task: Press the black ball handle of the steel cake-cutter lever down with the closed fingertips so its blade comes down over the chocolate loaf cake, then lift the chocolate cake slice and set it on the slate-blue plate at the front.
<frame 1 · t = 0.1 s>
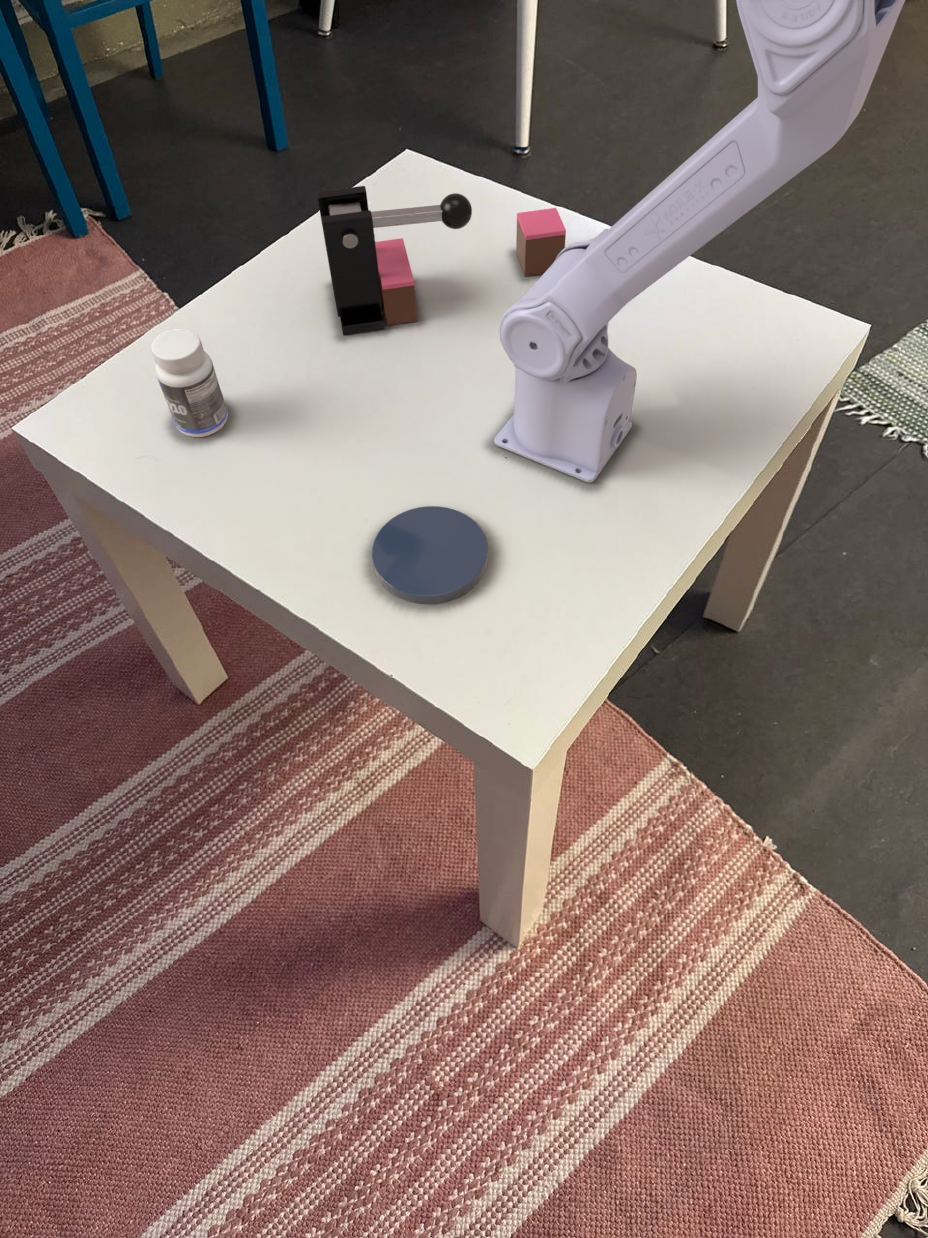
cutter: (401, 216, 83), point 9 cm above the table, hinge at -2.0°
cake slice: (539, 262, 93), on the table
loaf cake: (396, 301, 90), on the table
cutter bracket: (358, 306, 90), on the table
pill bottle: (202, 421, 82), on the table
plate: (430, 557, 72), on the table
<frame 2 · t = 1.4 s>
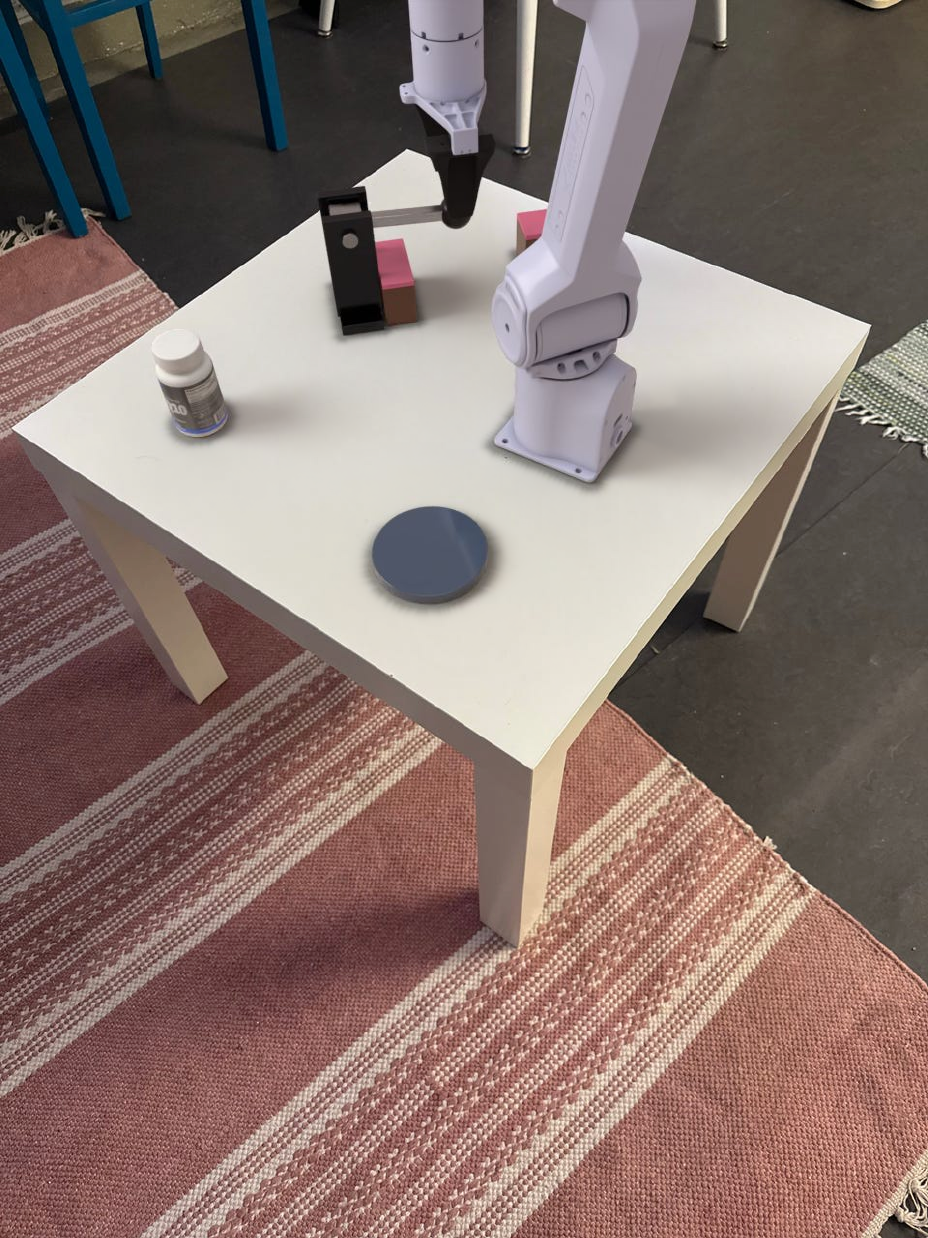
hand: (453, 191, 82), 11 cm above the table, tool pointing down, fingers open, 7 cm apart
nothing on the table moved.
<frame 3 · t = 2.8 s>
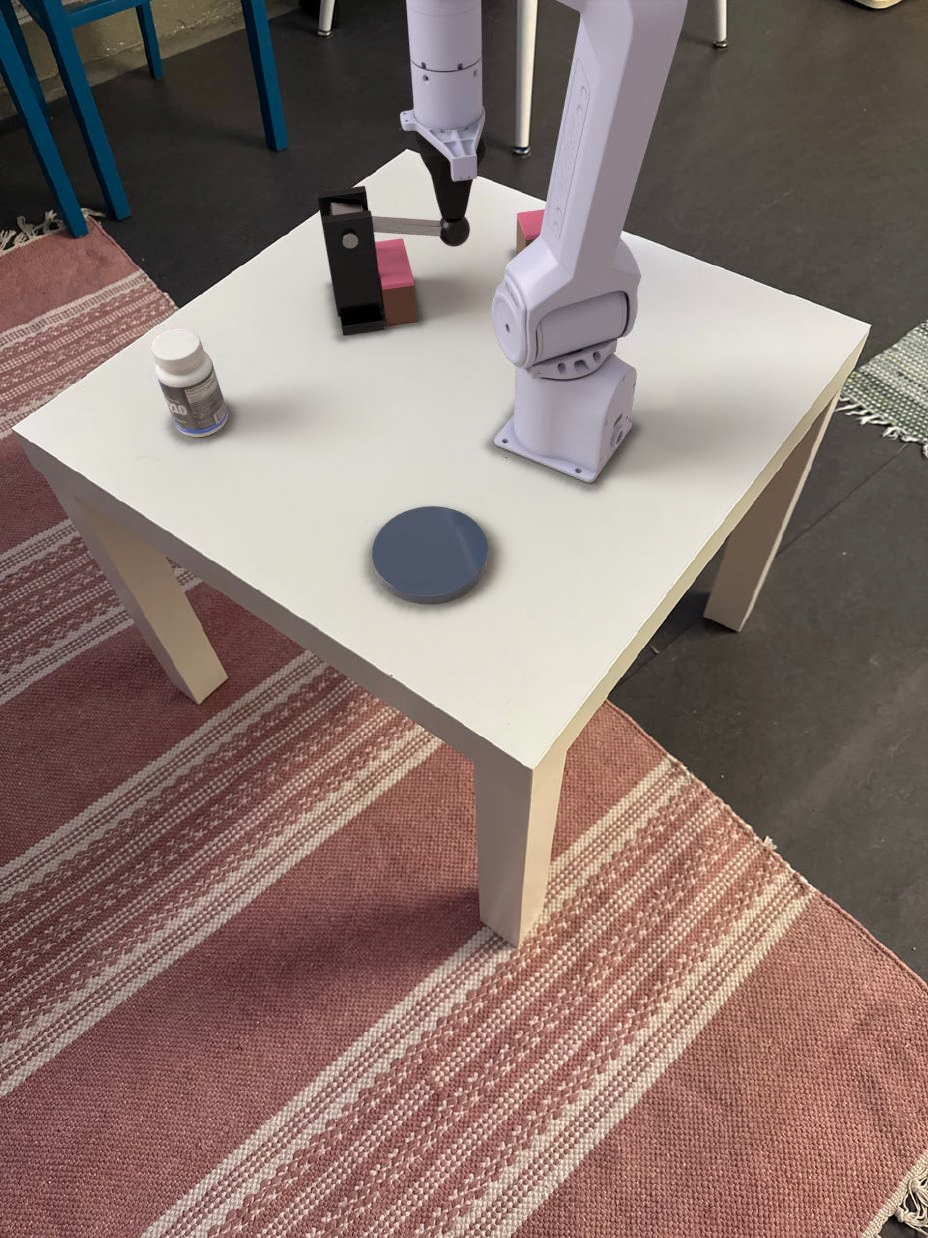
hand: (452, 214, 84), 8 cm above the table, tool pointing down, fingers closed, pressing on cutter
cutter: (401, 225, 84), point 8 cm above the table, hinge at -12.2°, touching gripper
everything else where it was.
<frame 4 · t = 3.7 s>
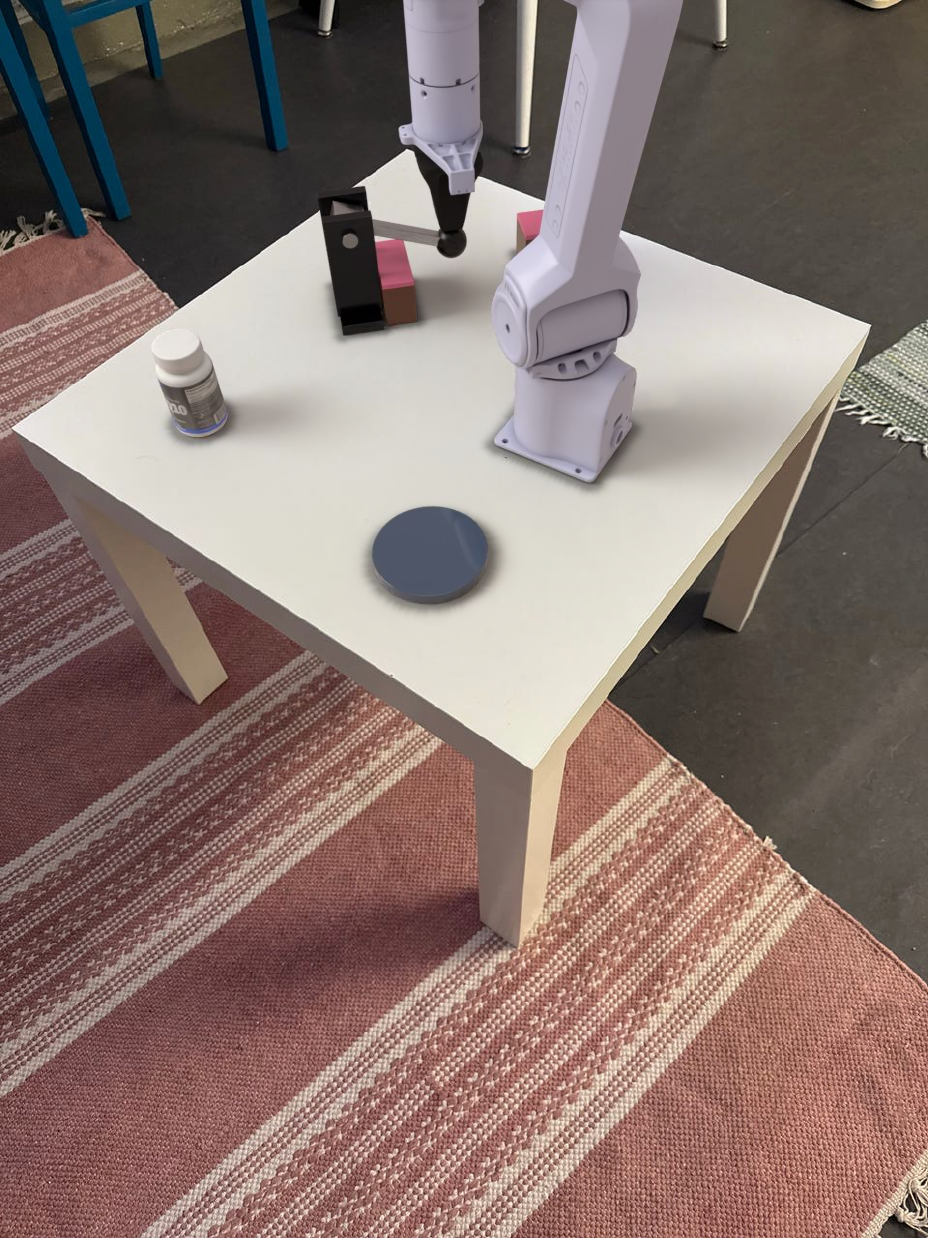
hand: (450, 226, 85), 7 cm above the table, tool pointing down, fingers closed
cutter: (400, 231, 84), point 7 cm above the table, hinge at -19.0°
everything else where it was.
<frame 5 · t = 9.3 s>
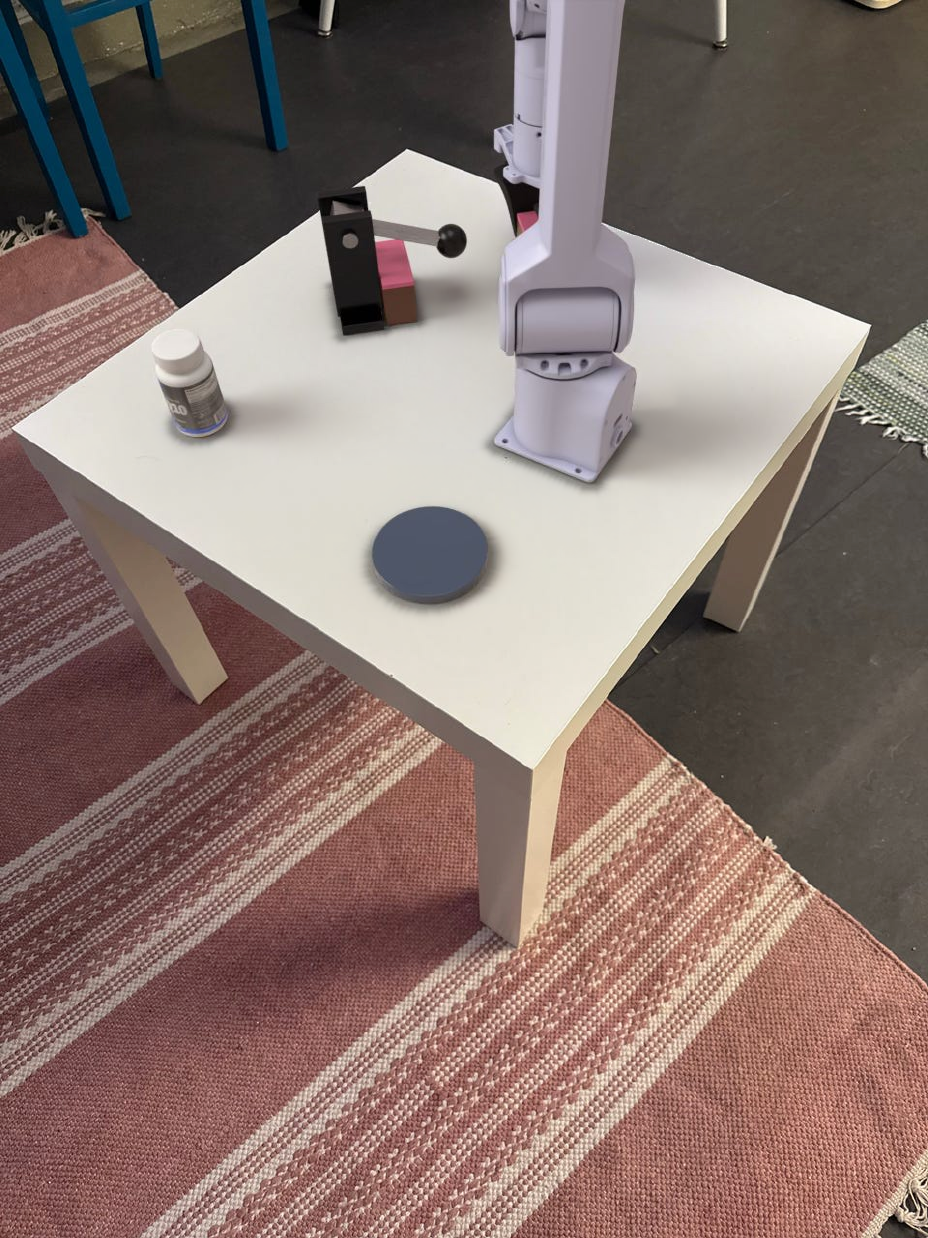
hand: (540, 249, 92), 1 cm above the table, tool pointing down, fingers closed on cake slice, 5 cm apart
cake slice: (539, 262, 93), on the table, touching gripper
everything else where it was.
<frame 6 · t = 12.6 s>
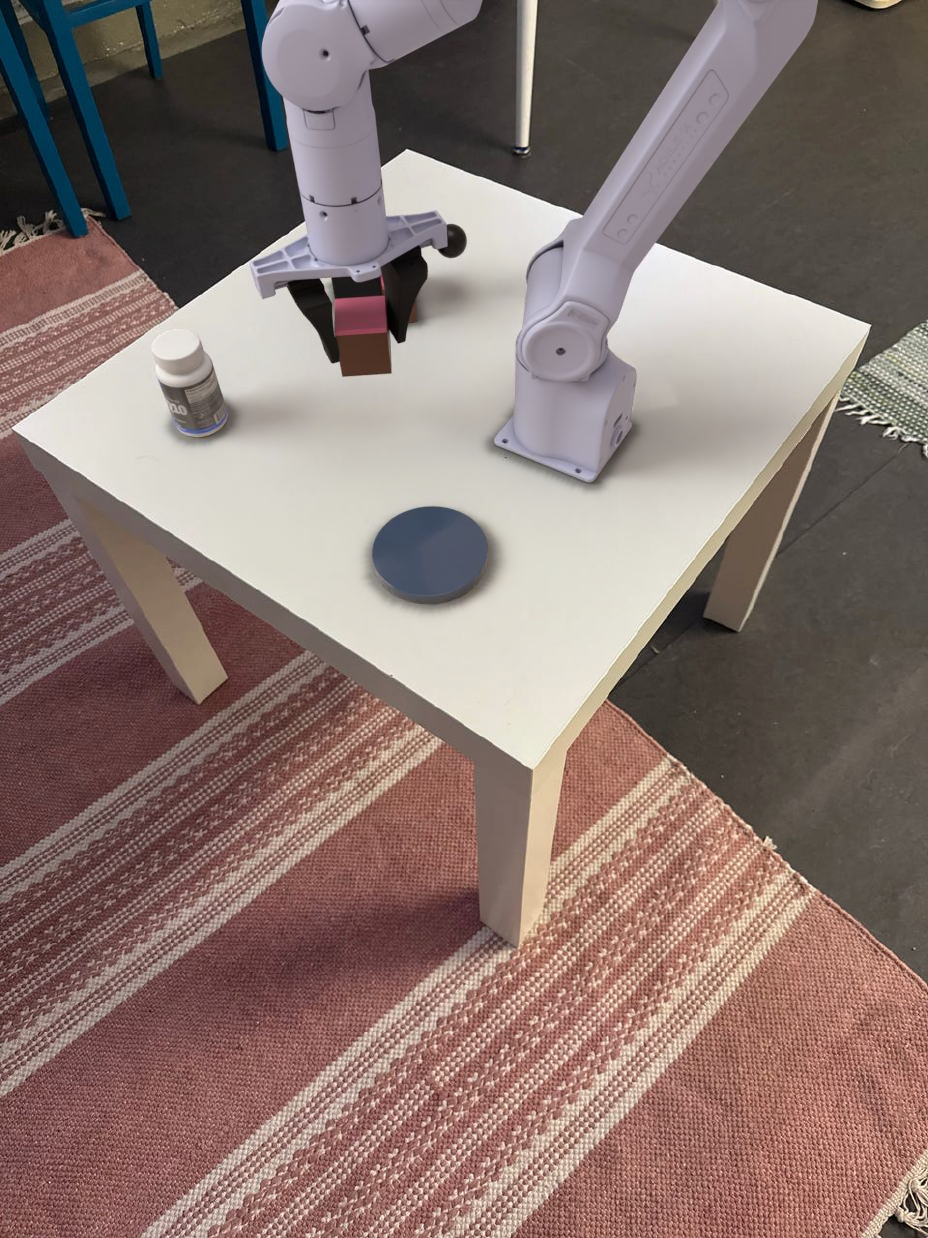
hand: (364, 345, 74), 8 cm above the table, tool pointing down, fingers closed on cake slice, 5 cm apart
cake slice: (366, 359, 75), point 7 cm above the table, touching gripper
everything else where it was.
when the fingers open (2 cm above the table, at t = 16.0 s): cake slice stays where it is, resting on plate.
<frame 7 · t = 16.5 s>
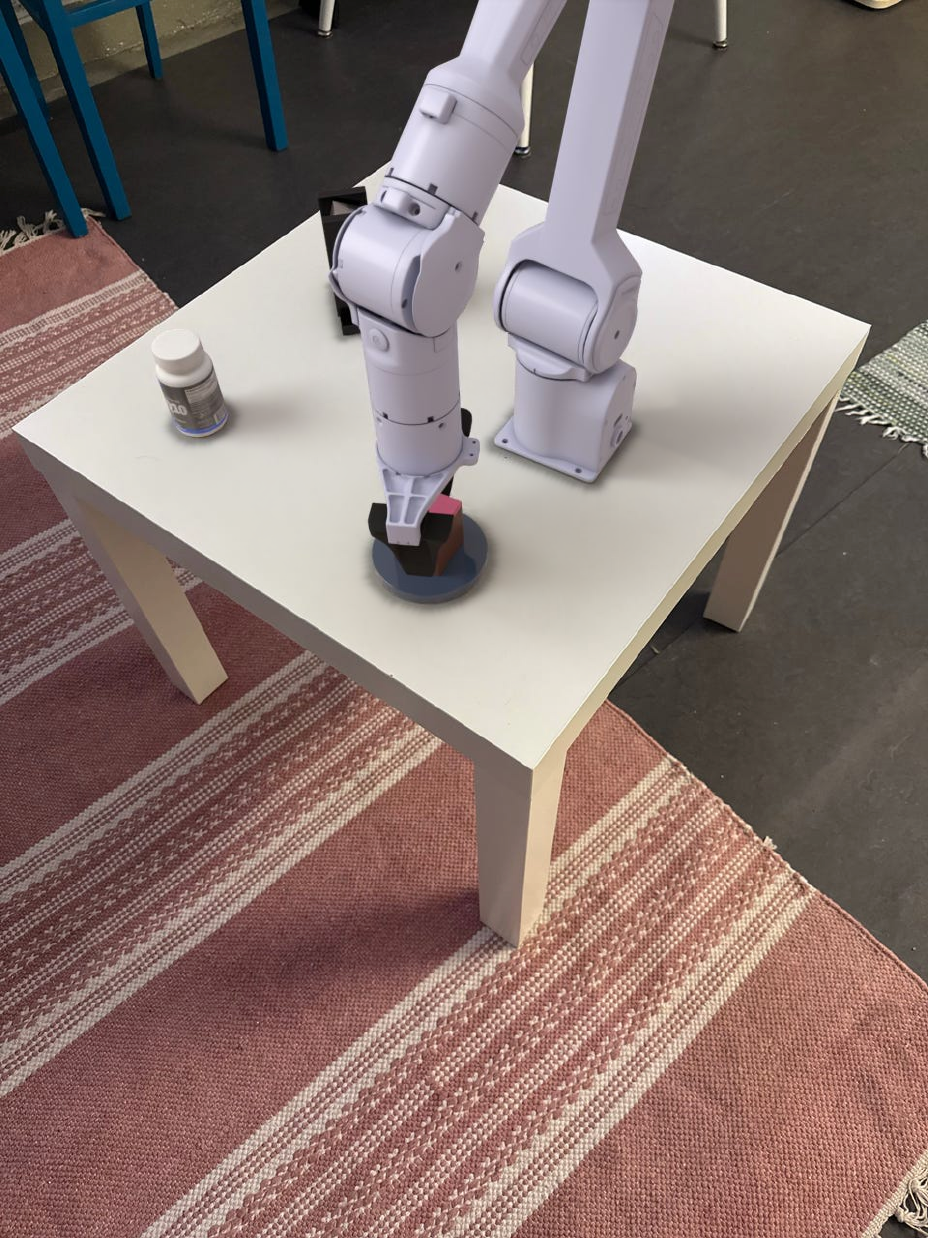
hand: (428, 532, 69), 3 cm above the table, tool pointing down, fingers open, 7 cm apart
cake slice: (429, 549, 71), point 1 cm above the table, touching plate
everything else where it was.
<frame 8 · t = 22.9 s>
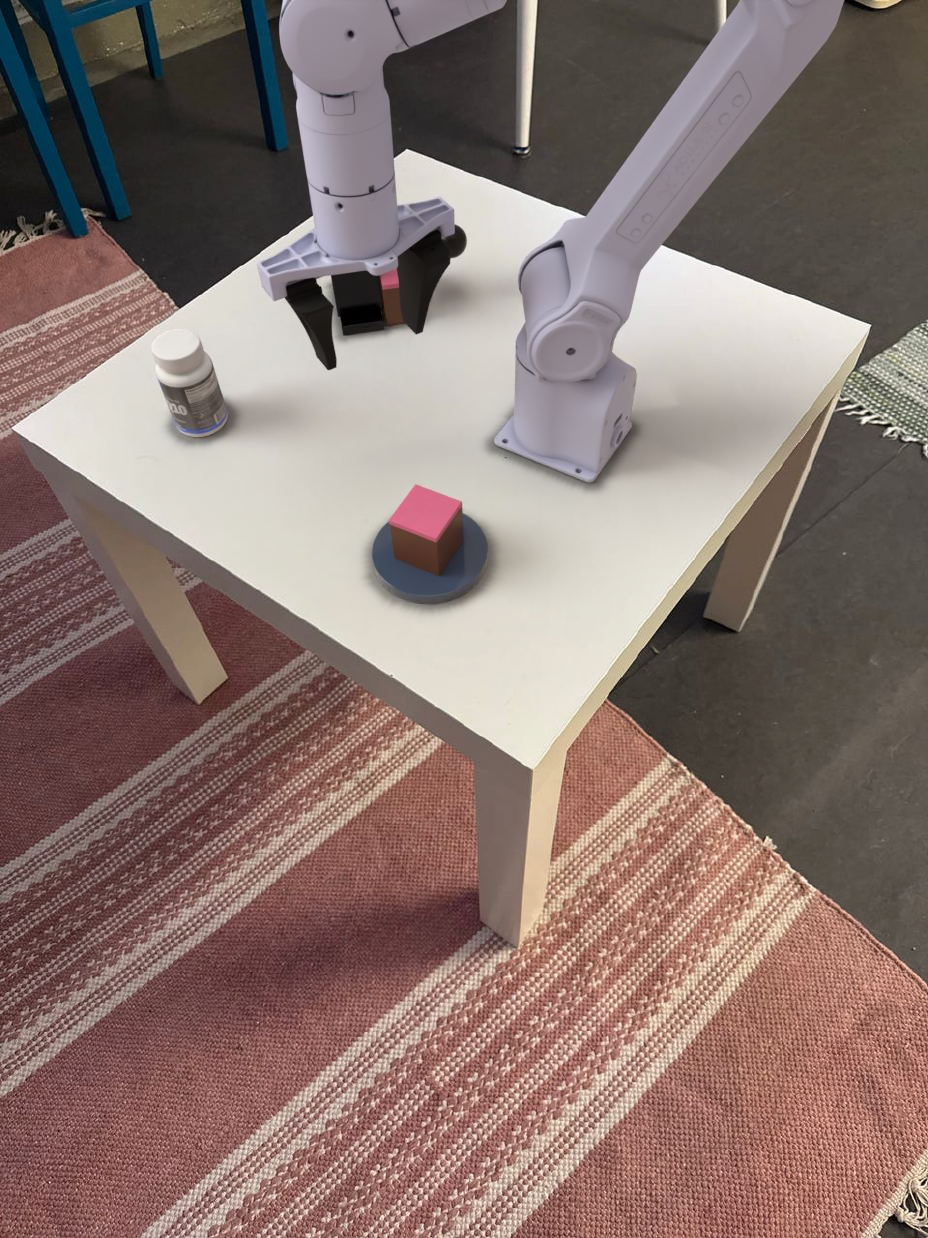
hand: (370, 343, 71), 10 cm above the table, tool pointing down, fingers open, 7 cm apart
nothing on the table moved.
at the end: cutter at -19° (first picture: -2°); cake slice 0.1 cm off-centre on the plate, point 1.0 cm above the plate's base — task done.
